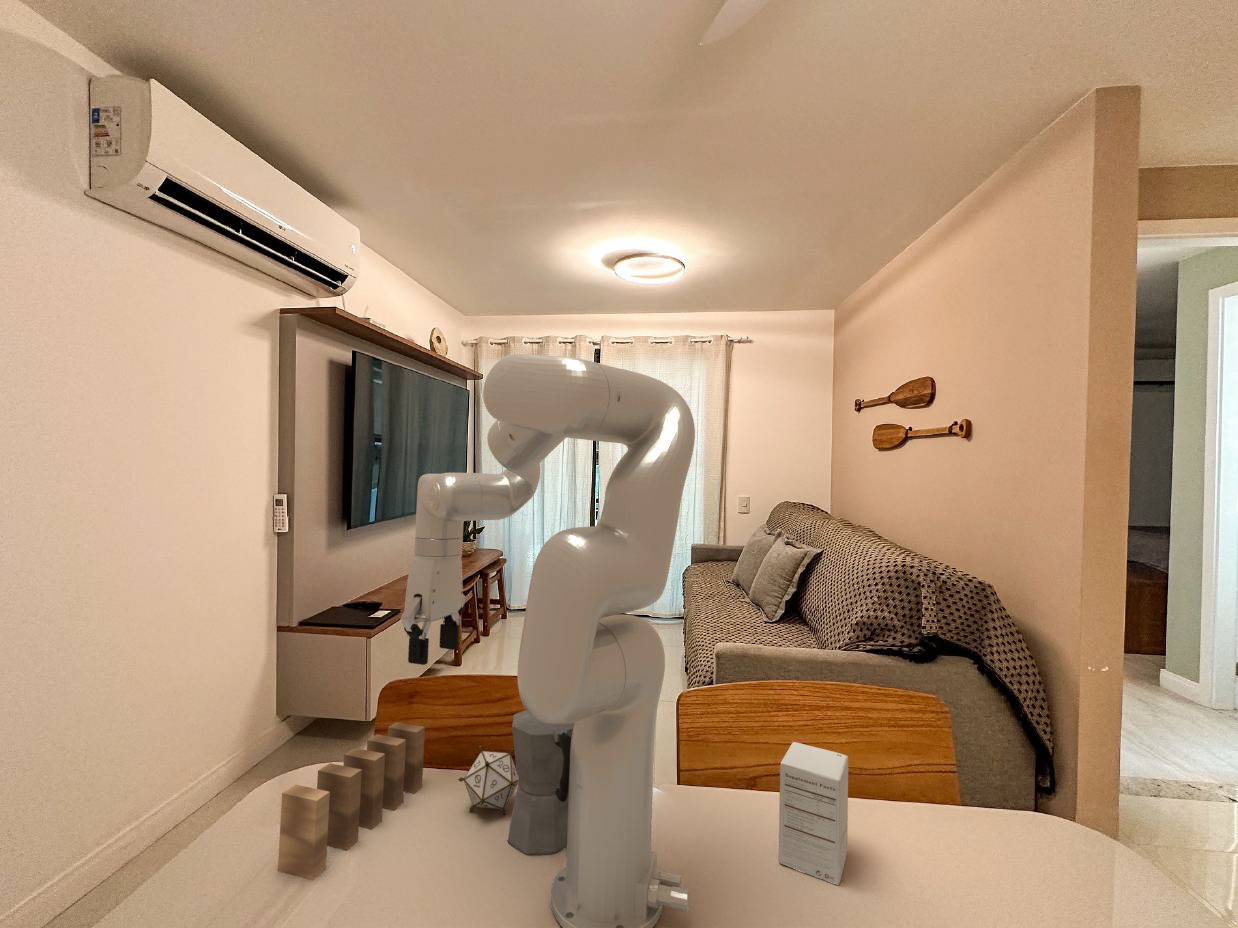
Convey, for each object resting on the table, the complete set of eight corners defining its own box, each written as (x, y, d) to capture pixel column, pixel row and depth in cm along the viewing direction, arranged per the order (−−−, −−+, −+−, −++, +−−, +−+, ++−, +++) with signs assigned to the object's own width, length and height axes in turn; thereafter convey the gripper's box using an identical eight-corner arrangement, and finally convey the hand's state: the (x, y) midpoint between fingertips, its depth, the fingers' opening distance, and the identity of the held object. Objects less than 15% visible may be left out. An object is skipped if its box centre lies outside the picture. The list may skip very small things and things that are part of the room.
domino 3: (381, 820, 76) (385, 753, 76) (371, 829, 74) (375, 760, 74) (351, 813, 77) (354, 747, 77) (340, 822, 75) (344, 754, 75)
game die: (501, 828, 81) (543, 764, 84) (483, 841, 73) (531, 771, 76) (456, 786, 83) (499, 726, 86) (435, 795, 76) (482, 729, 78)
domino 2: (358, 840, 71) (361, 769, 72) (346, 850, 69) (350, 777, 70) (326, 832, 72) (329, 763, 73) (314, 842, 71) (317, 770, 71)
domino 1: (325, 868, 66) (329, 791, 66) (312, 880, 64) (316, 800, 64) (291, 859, 67) (295, 784, 68) (277, 870, 65) (282, 793, 66)
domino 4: (403, 802, 80) (406, 739, 80) (393, 810, 78) (397, 745, 78) (373, 796, 81) (376, 734, 82) (364, 803, 79) (367, 740, 80)
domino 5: (421, 786, 84) (424, 726, 85) (413, 793, 82) (416, 732, 83) (393, 781, 86) (396, 721, 86) (385, 787, 84) (388, 727, 84)
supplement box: (790, 833, 76) (792, 739, 76) (848, 853, 72) (850, 754, 72) (776, 864, 69) (778, 761, 70) (839, 888, 65) (841, 779, 66)
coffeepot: (492, 816, 77) (498, 685, 78) (555, 799, 82) (559, 676, 83) (530, 887, 64) (536, 729, 65) (603, 863, 68) (608, 715, 69)
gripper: (448, 542, 101) (443, 639, 100) (384, 552, 84) (378, 669, 83) (485, 544, 99) (480, 643, 98) (427, 555, 82) (421, 675, 81)
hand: (433, 654), depth 91 cm, fingers open, 7 cm apart
